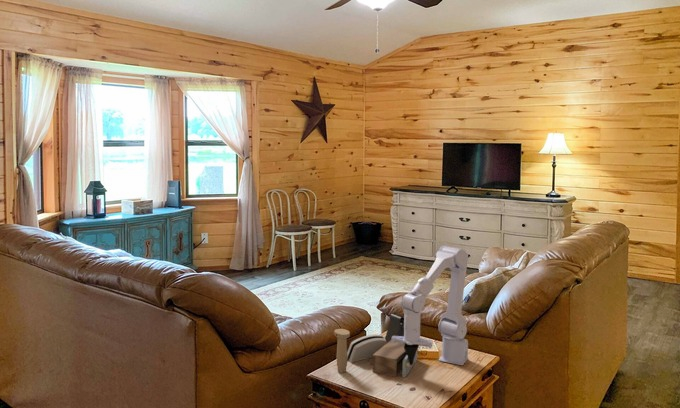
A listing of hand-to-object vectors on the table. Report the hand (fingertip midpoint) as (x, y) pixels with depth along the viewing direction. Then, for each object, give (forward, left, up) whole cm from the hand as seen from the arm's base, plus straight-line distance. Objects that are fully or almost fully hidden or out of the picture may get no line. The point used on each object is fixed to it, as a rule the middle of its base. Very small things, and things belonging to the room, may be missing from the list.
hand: (411, 363), depth 202 cm
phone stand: (+16, -26, -4) cm, 31 cm away
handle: (+23, +10, -4) cm, 25 cm away
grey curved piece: (+21, -7, -4) cm, 23 cm away
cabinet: (+9, -5, -4) cm, 11 cm away
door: (+2, -5, -4) cm, 6 cm away
